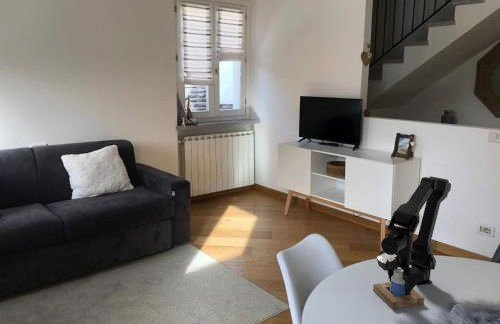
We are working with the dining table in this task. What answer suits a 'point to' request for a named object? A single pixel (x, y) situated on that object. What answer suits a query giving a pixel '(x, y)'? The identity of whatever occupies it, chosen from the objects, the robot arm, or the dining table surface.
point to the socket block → (398, 301)
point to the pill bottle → (397, 283)
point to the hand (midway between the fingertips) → (398, 288)
